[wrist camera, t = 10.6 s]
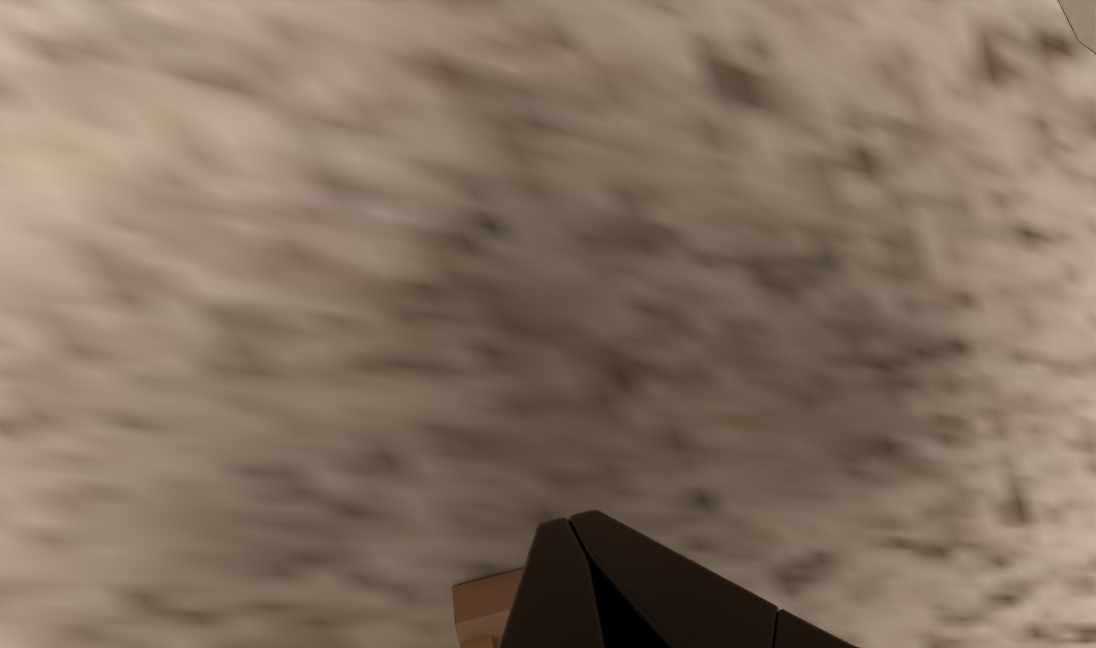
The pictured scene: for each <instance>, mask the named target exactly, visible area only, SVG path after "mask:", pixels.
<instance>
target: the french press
mask: <svg viewBox="0 0 1096 648" xmlns="http://www.w3.org/2000/svg"><path fill="white" fill-rule="evenodd" d="M1059 2H1060V4H1061V6H1062V8H1063V10H1064V12H1065V14H1066V16H1067V18H1068V20H1069V22H1070V24H1071V26H1072V28H1073V30H1074V32H1075V34H1076V36H1077V38H1078V40H1079V41H1080V42H1081V43H1082V44H1084V45H1085V46H1086V47H1088V48H1089V49H1091V50H1092V51H1093V52H1095V53H1096V0H1059Z"/></svg>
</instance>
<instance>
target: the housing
mask: <svg viewBox="0 0 1096 648" xmlns="http://www.w3.org/2000/svg"><path fill="white" fill-rule="evenodd" d="M523 569H524V568H523ZM523 569H519V570H515V571H511V572H507V573H504V574H500V575H496V576H492V577H488V578H484V579H481V580H477V581H473V582H469V583H465V584H461V585H458V586H454V587H452V588H453V602H454V616H455V626H456V630H457V634H458V639H459V643H460V647H461V648H498V646H499V643H500V640H501V636H502V633H503V630H504V627H505V624H506V621H507V618H508V615H509V612H510V609H511V606H512V603H513V600H514V596H515V593H516V590H517V587H518V584H519V581H520V578H521V575H522V572H523Z"/></svg>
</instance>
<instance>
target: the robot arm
mask: <svg viewBox="0 0 1096 648" xmlns="http://www.w3.org/2000/svg"><path fill="white" fill-rule="evenodd" d="M498 648H859V647H856V646H854V645H852V644H850V643H848V642H846V641H844V640H842V639H840V638H838V637H836V636H834V635H832V634H830V633H828V632H826V631H824V630H822V629H820V628H818V627H816V626H814V625H812V624H810V623H808V622H806V621H804V620H803V619H801V618H799V617H797V616H795V615H793V614H791V613H789V612H788V611H786V610H784V609H781V610H779V609H778V607H777V606H776V605H774V604H772V603H770V602H768V601H767V600H765V599H763V598H761V597H759V596H757V595H755V594H753V593H752V592H750V591H748V590H746V589H744V588H742V587H740V586H738V585H737V584H735V583H733V582H731V581H729V580H727V579H725V578H724V577H722V576H720V575H718V574H716V573H714V572H712V571H710V570H709V569H707V568H705V567H703V566H701V565H699V564H697V563H696V562H694V561H692V560H690V559H688V558H686V557H684V556H682V555H681V554H679V553H677V552H675V551H673V550H671V549H669V548H668V547H666V546H664V545H662V544H660V543H658V542H656V541H654V540H653V539H651V538H649V537H647V536H645V535H643V534H641V533H639V532H638V531H636V530H634V529H632V528H630V527H628V526H626V525H625V524H623V523H621V522H619V521H617V520H615V519H613V518H611V517H610V516H608V515H606V514H604V513H602V512H600V511H598V510H590V511H586V512H582V513H578V514H575V515H572V516H570V517H569V520H567V519H566V518H559V519H555V520H551V521H547V522H543V523H540V524H539V525H538V527H537V529H536V532H535V535H534V538H533V541H532V544H531V547H530V550H529V553H528V557H527V560H526V563H525V566H524V569H523V572H522V575H521V578H520V581H519V584H518V587H517V590H516V593H515V596H514V600H513V603H512V606H511V609H510V612H509V615H508V618H507V621H506V624H505V627H504V630H503V633H502V636H501V640H500V643H499V646H498Z"/></svg>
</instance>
